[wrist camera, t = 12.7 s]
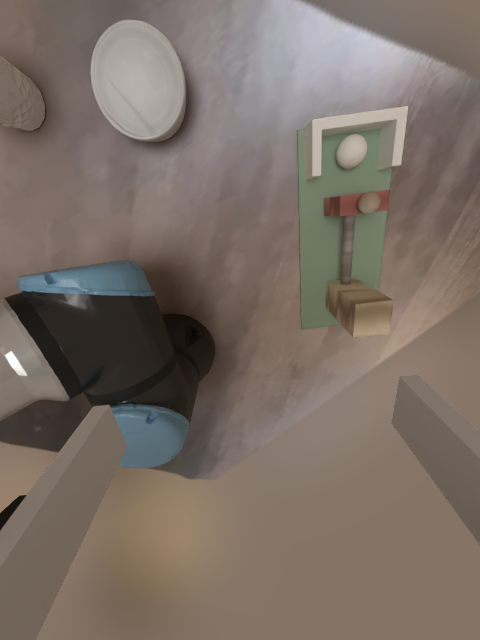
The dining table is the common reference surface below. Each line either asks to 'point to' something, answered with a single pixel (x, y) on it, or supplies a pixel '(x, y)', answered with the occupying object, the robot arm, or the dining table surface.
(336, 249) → the pitch
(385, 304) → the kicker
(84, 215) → the dining table surface
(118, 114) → the ramekin
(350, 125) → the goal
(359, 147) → the ball
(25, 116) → the white cup
